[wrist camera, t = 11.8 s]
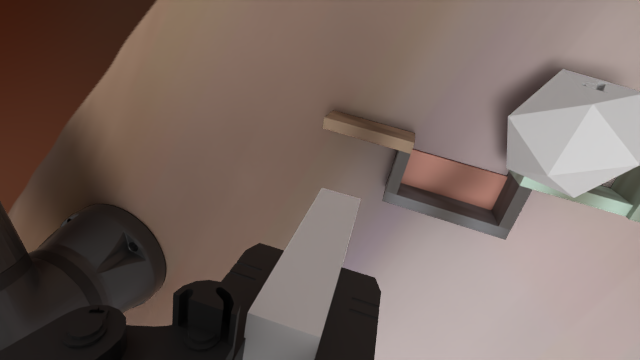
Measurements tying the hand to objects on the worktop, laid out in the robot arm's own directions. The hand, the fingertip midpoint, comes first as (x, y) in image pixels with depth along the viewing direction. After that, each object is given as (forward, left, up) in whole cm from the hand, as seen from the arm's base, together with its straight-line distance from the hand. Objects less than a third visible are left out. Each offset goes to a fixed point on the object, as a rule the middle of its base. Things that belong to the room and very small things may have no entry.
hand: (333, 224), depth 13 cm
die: (+14, +3, -22) cm, 26 cm away
